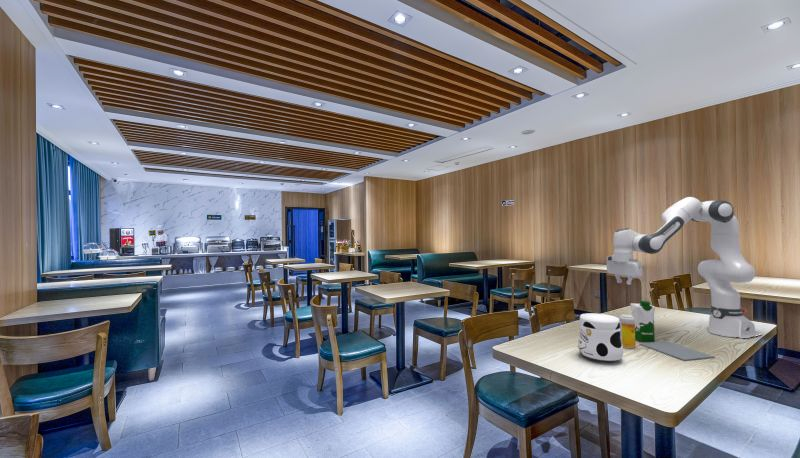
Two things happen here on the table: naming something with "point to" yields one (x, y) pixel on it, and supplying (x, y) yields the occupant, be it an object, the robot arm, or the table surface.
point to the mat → (676, 350)
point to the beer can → (627, 331)
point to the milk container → (600, 337)
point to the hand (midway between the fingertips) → (624, 283)
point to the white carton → (643, 321)
